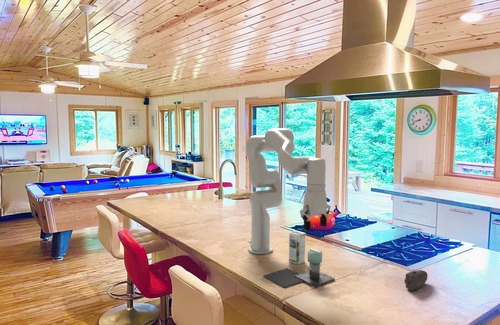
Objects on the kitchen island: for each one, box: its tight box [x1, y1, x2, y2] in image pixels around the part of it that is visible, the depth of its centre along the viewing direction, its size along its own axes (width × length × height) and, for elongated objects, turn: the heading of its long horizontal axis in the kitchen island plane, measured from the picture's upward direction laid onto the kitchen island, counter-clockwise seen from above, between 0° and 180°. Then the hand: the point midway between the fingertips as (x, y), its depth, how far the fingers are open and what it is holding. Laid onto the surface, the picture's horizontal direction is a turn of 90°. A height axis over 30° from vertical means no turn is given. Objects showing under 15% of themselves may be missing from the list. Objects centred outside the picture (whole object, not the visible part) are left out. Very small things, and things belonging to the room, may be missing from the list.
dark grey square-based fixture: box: [294, 262, 336, 288], centre depth 158 cm, size 12×12×8 cm
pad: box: [262, 267, 304, 289], centre depth 160 cm, size 14×14×1 cm
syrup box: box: [288, 230, 306, 266], centre depth 178 cm, size 6×6×14 cm
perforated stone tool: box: [403, 269, 428, 292], centre depth 151 cm, size 15×5×7 cm, turn 126°
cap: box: [307, 247, 323, 264], centre depth 158 cm, size 6×6×5 cm
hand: (315, 228), depth 156 cm, fingers open, 9 cm apart
